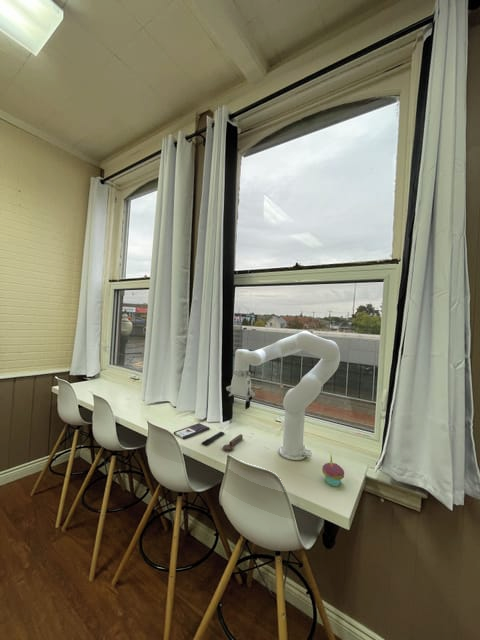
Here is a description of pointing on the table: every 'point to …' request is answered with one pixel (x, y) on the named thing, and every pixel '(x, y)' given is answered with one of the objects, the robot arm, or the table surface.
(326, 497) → the table surface
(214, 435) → the black remote control
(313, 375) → the robot arm
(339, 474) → the cupcake
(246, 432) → the table surface
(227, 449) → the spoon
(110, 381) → the table surface
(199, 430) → the chocolate bar
